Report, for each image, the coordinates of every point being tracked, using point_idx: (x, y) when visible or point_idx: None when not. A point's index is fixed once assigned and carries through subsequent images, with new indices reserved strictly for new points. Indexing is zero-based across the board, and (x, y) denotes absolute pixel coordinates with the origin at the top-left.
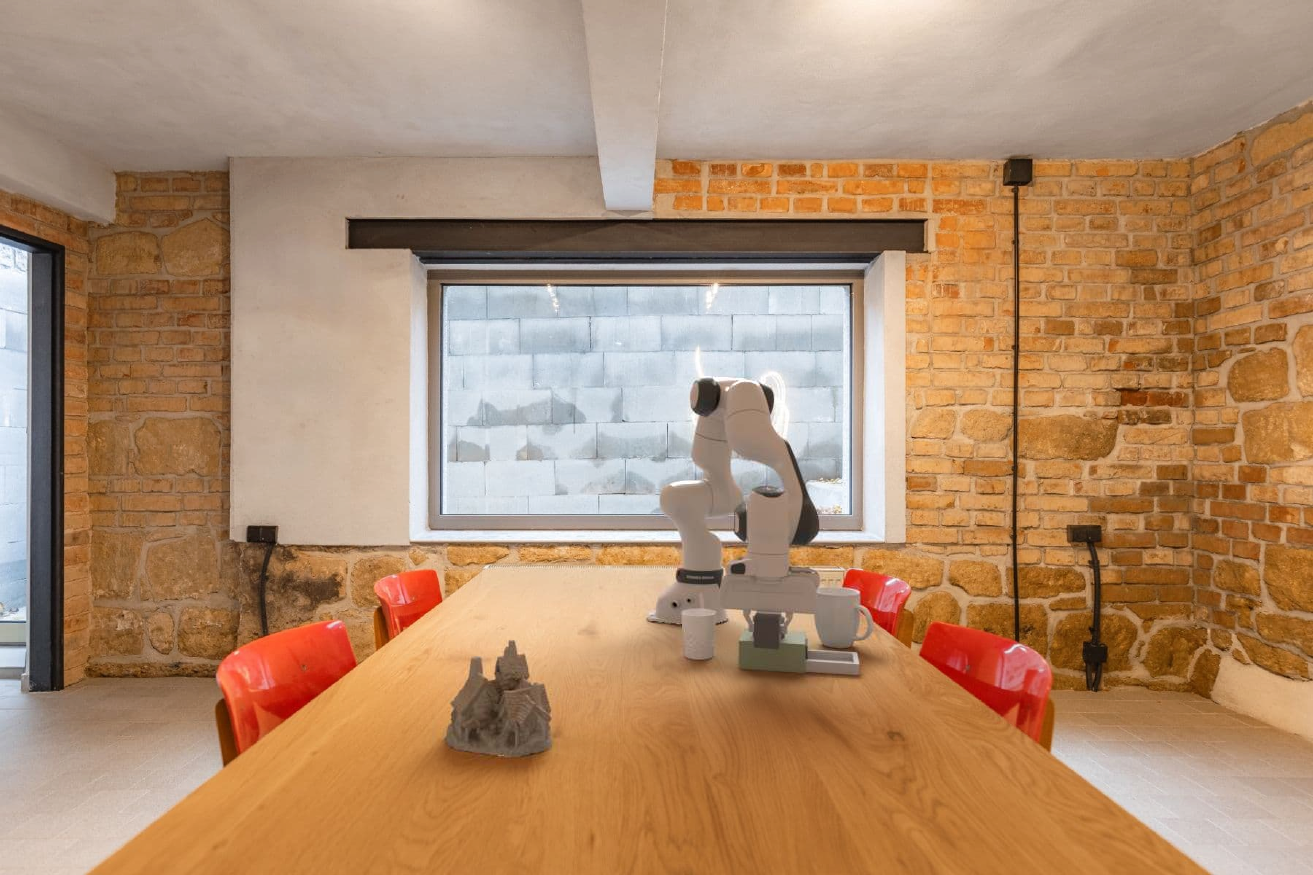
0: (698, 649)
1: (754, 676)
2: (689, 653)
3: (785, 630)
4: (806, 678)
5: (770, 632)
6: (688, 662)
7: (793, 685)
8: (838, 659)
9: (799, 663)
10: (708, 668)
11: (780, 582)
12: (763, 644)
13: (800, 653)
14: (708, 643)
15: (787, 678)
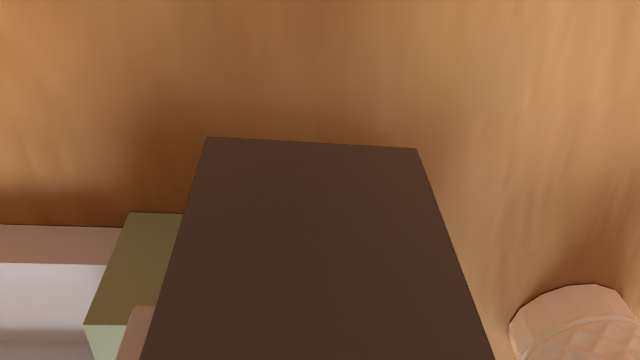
0: (602, 318)
1: (366, 136)
2: (625, 305)
3: (140, 328)
4: (108, 147)
5: (274, 234)
6: (630, 255)
7: (154, 29)
8: (17, 339)
9: (145, 242)
10: (566, 204)
11: None
12: (340, 160)
13: (126, 281)
14: (567, 349)
15: (201, 133)
